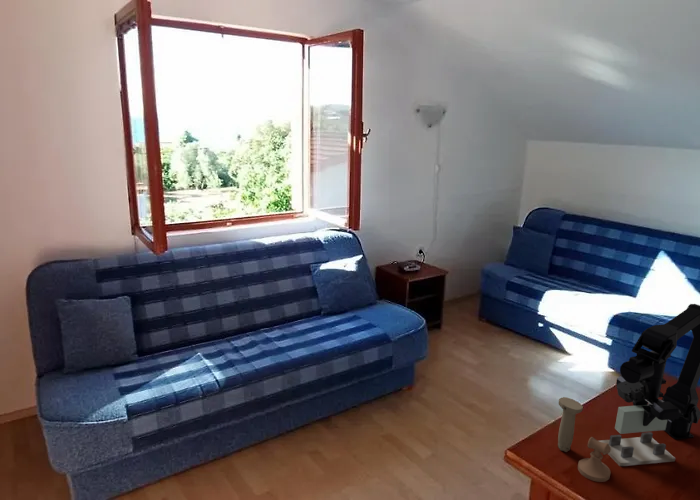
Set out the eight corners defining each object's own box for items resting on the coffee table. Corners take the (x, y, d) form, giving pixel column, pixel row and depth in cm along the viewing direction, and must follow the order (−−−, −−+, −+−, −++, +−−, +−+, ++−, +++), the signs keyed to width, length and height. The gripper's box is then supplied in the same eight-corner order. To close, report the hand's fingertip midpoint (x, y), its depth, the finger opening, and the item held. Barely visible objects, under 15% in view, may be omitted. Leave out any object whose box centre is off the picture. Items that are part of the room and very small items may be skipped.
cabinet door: (659, 424, 150) (663, 403, 148) (665, 429, 147) (669, 408, 145) (614, 428, 148) (618, 406, 146) (620, 433, 145) (624, 412, 143)
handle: (568, 457, 146) (575, 411, 142) (548, 445, 152) (555, 400, 148) (578, 452, 149) (586, 406, 145) (559, 440, 154) (566, 395, 150)
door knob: (589, 427, 144) (619, 440, 139) (583, 457, 147) (613, 471, 142) (578, 440, 138) (609, 454, 133) (573, 471, 141) (604, 486, 136)
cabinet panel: (650, 439, 155) (652, 427, 154) (674, 461, 146) (677, 449, 145) (598, 443, 153) (600, 431, 152) (619, 466, 143) (622, 454, 142)
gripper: (603, 358, 150) (595, 406, 155) (648, 393, 132) (638, 445, 137) (638, 356, 152) (629, 403, 156) (687, 390, 134) (675, 442, 138)
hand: (641, 422), depth 147 cm, fingers closed on cabinet door, 2 cm apart
